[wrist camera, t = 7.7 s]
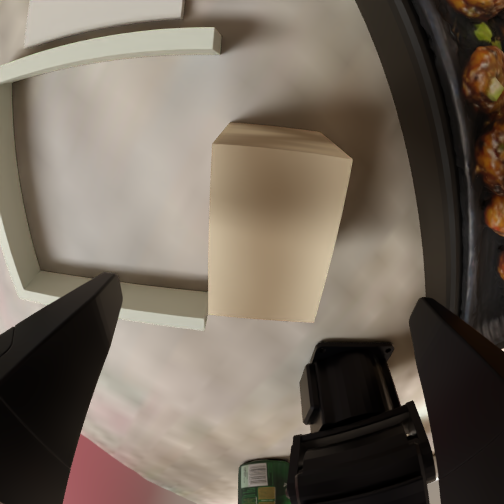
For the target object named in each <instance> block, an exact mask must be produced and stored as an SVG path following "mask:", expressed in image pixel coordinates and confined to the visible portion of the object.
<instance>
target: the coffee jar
mask: <svg viewBox="0 0 504 504" xmlns="http://www.w3.org/2000/svg"><path fill="white" fill-rule="evenodd" d="M288 471H289V463H288V462H286V461H283V460H280V461H279V460H268V459H264V460H254V461H252V462H248V463H245V464H242V465H241V466H240V467H239V474H238V504H291V502H290V499H289V498H287V497H286V494H285V491H286V487H287V479H288Z"/></svg>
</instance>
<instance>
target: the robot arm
mask: <svg viewBox="0 0 504 504" xmlns="http://www.w3.org/2000/svg"><path fill="white" fill-rule="evenodd" d="M122 302H123V295H122V290H121V285H120V280H119V276H118V275H117V274H116V273H110V272H104V273H102V274H100V275H98V276H96V277H95V278H93V279H91V280H90V281H88V282H86V283H84V284H83V285H81V286H79V287H77V288H76V289H74V290H72V291H71V292H69V293H67V294H66V295H64V296H62V297H60V298H59V299H57V300H55V301H54V302H52V303H50V304H49V305H47V306H46V307H44V308H42V309H41V310H39V311H37V312H36V313H34V314H33V315H31V316H29V317H28V318H26V319H25V320H23V321H21V322H20V323H18V324H17V325H15V327H12V328H10V329H9V330H7V331H6V332H4V333H3V334H1V335H0V504H63V499H64V495H65V490H66V486H67V482H68V478H69V473H70V470H71V469H70V468H71V465H72V462H73V458H74V454H75V451H76V447H77V444H78V440H79V437H80V433H81V430H82V427H83V423H84V420H85V417H86V414H87V411H88V408H89V405H90V402H91V399H92V396H93V393H94V390H95V387H96V384H97V381H98V379H99V376H100V373H101V370H102V368H103V365H104V362H105V360H106V357H107V354H108V351H109V349H110V346H111V342H112V339H113V335H114V331H115V328H116V324H117V320H118V317H119V313H120V310H121V306H122ZM409 326H410V331H411V336H412V342H413V347H414V353H415V359H416V365H417V369H418V373H419V377H420V381H421V385H422V389H423V394H424V398H425V402H426V407H427V412H428V417H429V422H430V427H431V432H432V438H433V443H434V450H435V456H436V463H437V470H438V478H439V488H440V498H441V504H504V352H503V351H502V350H501V349H500V348H498V347H497V346H496V345H495V344H493V343H492V342H491V341H490V340H488V339H487V338H486V337H484V336H483V335H482V334H481V333H479V332H478V331H477V330H475V329H474V328H473V327H471V326H470V325H469V324H467V323H466V322H465V321H463V320H462V319H461V318H459V317H458V316H457V315H455V314H454V313H452V312H451V311H450V310H448V309H447V308H446V307H444V306H443V305H441V304H440V303H439V302H437V301H436V300H434V299H433V298H431V297H421V298H420V299H419V300H418V301H417V303H416V306H415V308H414V310H413V312H412V314H411V316H410V319H409ZM393 350H394V347H393V344H392V343H333V342H321V343H318V344H317V345H316V346H315V349H314V352H313V355H312V358H311V361H310V363H308V364H307V365H306V366H305V369H304V372H303V375H302V378H301V380H300V394H301V405H302V417H303V423H304V424H305V425H310V428H311V433H310V434H305V435H302V434H300V435H295V436H294V437H293V445H292V446H291V454H290V463H289V471H288V479H287V487H286V491H285V494H286V497H287V498H289V499H290V502H291V504H429V496H428V489H427V484H428V483H431V482H434V481H435V480H436V470H435V464H434V459H433V454H432V450H431V447H430V444H429V441H428V438H427V435H426V432H425V430H424V427H423V424H422V422H421V419H420V417H419V414H418V411H417V409H416V406H415V404H414V401H413V400H412V401H410V402H407V403H406V404H405V405H403V406H401V404H400V401H399V398H398V394H397V391H396V388H395V385H394V382H393V379H392V376H391V373H390V370H389V367H388V364H387V361H388V359H389V357H390V356H391V354H392V352H393ZM406 434H409V436H406Z"/></svg>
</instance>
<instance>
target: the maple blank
mask: <svg viewBox="0 0 504 504" xmlns="http://www.w3.org/2000/svg"><path fill="white" fill-rule="evenodd" d="M352 162H353V159H352V158H351V157H349V156H348V155H347V154H346V153H345V152H344V151H342V150H341V149H340V148H339V147H338V146H337V145H335V144H334V143H333V142H332V141H331V140H329V139H328V138H327V137H326V136H324V135H323V134H322V133H321V132H316V131H310V130H302V129H295V128H287V127H278V126H268V125H258V124H246V123H233V122H230V123H229V124H228V125H227V127H226V128H225V129H224V130H223V131H222V133H221V134H220V135H219V136H218V137H217V139H216V140H215V141H214V142H213V144H212V159H211V182H210V211H209V254H208V315H217V316H227V317H238V318H250V319H263V320H277V321H293V322H311V323H314V320H315V317H316V314H317V310H318V307H319V303H320V299H321V296H322V292H323V289H324V285H325V281H326V277H327V274H328V270H329V266H330V262H331V258H332V254H333V250H334V246H335V242H336V238H337V233H338V229H339V225H340V220H341V216H342V211H343V207H344V202H345V197H346V193H347V188H348V183H349V178H350V173H351V168H352Z"/></svg>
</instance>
